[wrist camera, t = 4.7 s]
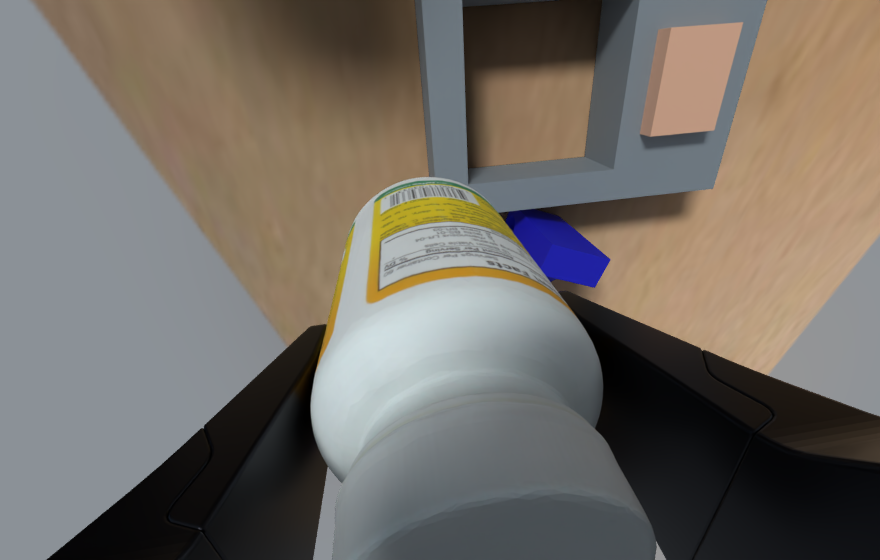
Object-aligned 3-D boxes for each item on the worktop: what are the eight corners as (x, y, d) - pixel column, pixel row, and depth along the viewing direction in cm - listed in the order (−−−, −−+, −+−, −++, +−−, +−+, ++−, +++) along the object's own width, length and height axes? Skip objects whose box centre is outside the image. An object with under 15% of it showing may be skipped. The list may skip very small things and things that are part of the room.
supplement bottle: (428, 134, 11) (563, 340, 3) (534, 250, 13) (784, 554, 5) (310, 257, 12) (157, 645, 4) (425, 343, 15) (478, 703, 6)
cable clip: (504, 371, 28) (532, 441, 23) (446, 362, 27) (461, 433, 21) (579, 221, 23) (637, 266, 17) (511, 201, 22) (552, 244, 16)
